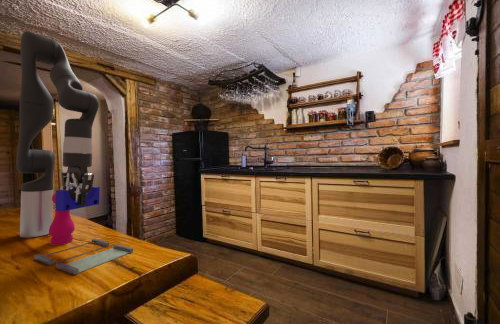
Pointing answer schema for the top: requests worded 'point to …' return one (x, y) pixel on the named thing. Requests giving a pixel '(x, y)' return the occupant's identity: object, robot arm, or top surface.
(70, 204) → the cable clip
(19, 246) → the top surface
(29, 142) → the robot arm
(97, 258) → the panel
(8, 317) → the top surface
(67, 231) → the pepper mill
